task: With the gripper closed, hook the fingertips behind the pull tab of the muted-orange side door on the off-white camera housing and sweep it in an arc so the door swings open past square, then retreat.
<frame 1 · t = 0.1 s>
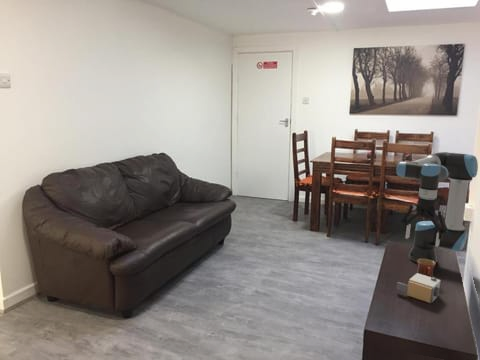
hand: (421, 241, 184), 28 cm above the table, fingers open, 13 cm apart
mug: (424, 281, 206), on the table
door: (414, 290, 188), point 4 cm above the table, hinge at 0.0°
housing: (423, 295, 192), on the table
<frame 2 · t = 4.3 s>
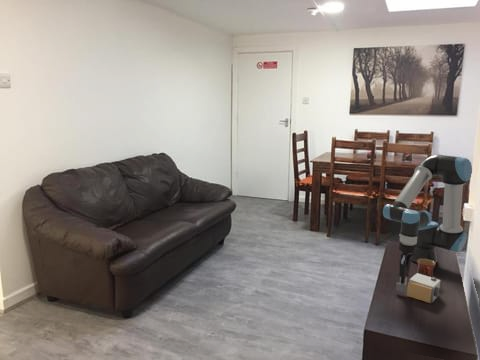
hand: (402, 288, 192), 3 cm above the table, fingers closed
door: (414, 290, 188), point 4 cm above the table, hinge at 3.7°, touching gripper
everything else where it was.
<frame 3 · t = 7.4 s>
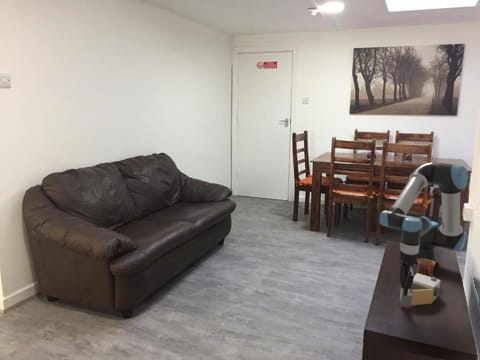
hand: (403, 300, 182), 2 cm above the table, fingers closed
door: (417, 296, 181), point 4 cm above the table, hinge at 53.1°, touching gripper
everything else where it was.
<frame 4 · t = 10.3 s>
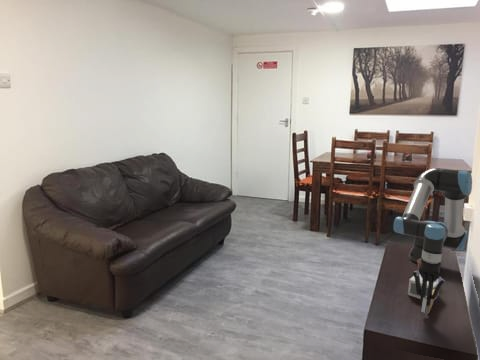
hand: (424, 310, 172), 2 cm above the table, fingers closed
door: (429, 302, 177), point 4 cm above the table, hinge at 98.2°, touching gripper
everything else where it was.
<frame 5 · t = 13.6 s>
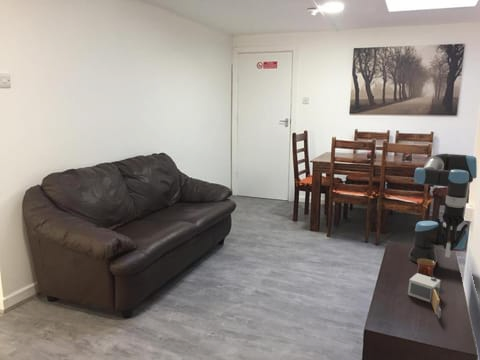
hand: (447, 256, 177), 24 cm above the table, fingers closed
door: (435, 303, 176), point 4 cm above the table, hinge at 116.6°
everything else where it was.
at the end: door at +117° (first picture: +0°); door touching nothing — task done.
